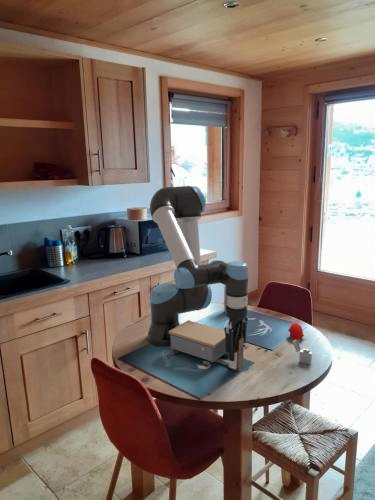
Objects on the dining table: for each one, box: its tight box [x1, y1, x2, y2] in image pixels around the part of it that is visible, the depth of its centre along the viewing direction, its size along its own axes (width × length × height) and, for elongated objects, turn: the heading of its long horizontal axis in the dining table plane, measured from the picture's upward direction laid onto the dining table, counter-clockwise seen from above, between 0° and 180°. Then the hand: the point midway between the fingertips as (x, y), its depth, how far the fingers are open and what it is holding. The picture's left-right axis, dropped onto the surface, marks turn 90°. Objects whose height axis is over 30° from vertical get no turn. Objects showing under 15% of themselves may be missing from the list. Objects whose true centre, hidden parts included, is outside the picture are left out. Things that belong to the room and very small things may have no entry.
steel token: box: [196, 360, 211, 370], centre depth 143 cm, size 5×5×1 cm
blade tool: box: [215, 336, 245, 373], centre depth 144 cm, size 16×4×12 cm, turn 54°
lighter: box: [292, 340, 313, 365], centre depth 145 cm, size 7×2×8 cm, turn 58°
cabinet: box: [169, 319, 229, 363], centre depth 149 cm, size 21×14×10 cm, turn 54°
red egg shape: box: [287, 322, 305, 342], centre depth 164 cm, size 8×6×6 cm
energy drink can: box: [223, 285, 227, 314], centre depth 193 cm, size 6×6×15 cm
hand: (235, 365), depth 141 cm, fingers closed on blade tool, 3 cm apart
